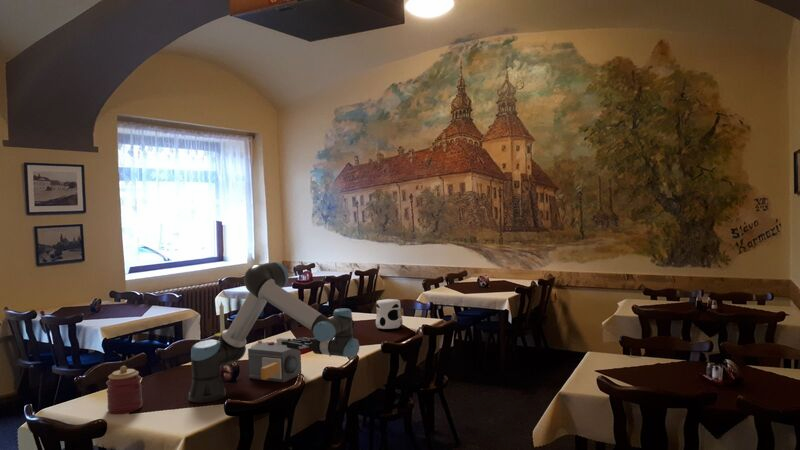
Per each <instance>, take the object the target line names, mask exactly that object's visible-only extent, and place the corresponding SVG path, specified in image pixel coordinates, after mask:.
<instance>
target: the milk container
mask: <svg viewBox="0 0 800 450" xmlns="http://www.w3.org/2000/svg"><path fill="white" fill-rule="evenodd" d="M401 305H402V304H401V300H400V299H396V298H387V299H379V300H376V317H375V326H376V328H377V329H379V330H384V331H392V330H398V329H401V328H402V326H403V317H402V312H401V311H402V310H401V309H402V307H401Z"/></svg>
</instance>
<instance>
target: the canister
mask: <svg viewBox="0 0 800 450" xmlns="http://www.w3.org/2000/svg"><path fill="white" fill-rule="evenodd" d="M139 373H140V372H139V370H136V369H134V368H128V367H127V366H126V365H122V366H120V368H119V369H117V370H114V371H112V373H110V374H109V375H108V376H107V378H108V380H107V381H106V382H105V384H106V385H107V389H106V393H107V397H106V398H107V406H106V408H107V411H108V413H109V414H112V415H113V414H114V415H116V414H117V415H120V414H121V415H122V414H127V413H128V414H129V413H132V412H135V411H137V410H139V409H141V408H142V407H143V403H144V402H143V393H142V392H143V391H142V387H143V385H142V384H141V380H142V376H140V375H139Z"/></svg>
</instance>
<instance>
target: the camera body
mask: <svg viewBox="0 0 800 450" xmlns="http://www.w3.org/2000/svg"><path fill="white" fill-rule="evenodd" d="M301 352H302V351H300V350H297V349H292V348H287V346H282V345H277V342H274V341H266V342H264V343H263V344H260V345H257V346H254V347H251V346H250V347H248V348H247V359H248V360H247V362H248V378H249V379H253V380H254V379H255V380H261V381H262V379H261V368H262V357H269V358H278V359H281V371H282V378H281V379H275V378H268V379H266V380H265V381H268V382H277V383H285V382H287V381H290V380H291V379H294V378H296V377H298V376H299V375H298V374H300V375H302V359H301V358H302V355H301ZM297 375H298V376H297Z"/></svg>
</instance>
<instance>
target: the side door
mask: <svg viewBox="0 0 800 450" xmlns="http://www.w3.org/2000/svg"><path fill="white" fill-rule="evenodd" d="M268 378H275V379H281V378H282V371H281V359H278V358H269V357H262V368H261V379H262V380H263V381H267V380H266V379H268ZM262 380H261V381H262Z"/></svg>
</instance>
